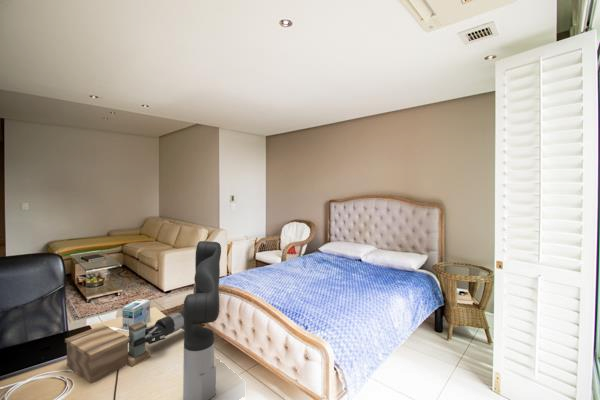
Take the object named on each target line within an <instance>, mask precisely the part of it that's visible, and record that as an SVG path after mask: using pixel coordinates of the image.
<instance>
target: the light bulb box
mask: <svg viewBox="0 0 600 400" xmlns="http://www.w3.org/2000/svg"><path fill="white" fill-rule="evenodd" d="M138 322H141V323H143V324H146V325H147V324H148V323H149V322H151V300H150V299H142V298H138V299H136V300H134V301H133V302H130V303H128V304H126V305H124V306H122V324H121V325H122V328H121V329H124V330H129V326H130V325H133V324H135V323H138Z"/></svg>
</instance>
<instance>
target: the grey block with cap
mask: <svg viewBox="0 0 600 400" xmlns="http://www.w3.org/2000/svg"><path fill="white" fill-rule="evenodd" d="M128 336H129V338H130V341H129V343H128V352H129V356H131V357H133V358H136V357H138V356H140V355H141V354H143V353H145V349H146V344H144V343H143V344H141V345H139V346H137V347H133V342H134V341H136V340H138V339H140V338H142V337H145V324H143V323H141V322H138V323H135V324H133V325H130V326H129V332H128Z"/></svg>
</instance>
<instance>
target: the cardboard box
mask: <svg viewBox="0 0 600 400" xmlns="http://www.w3.org/2000/svg"><path fill="white" fill-rule="evenodd" d="M109 327H110V326H107V325H104V324H102V325H99V326H96V327H94V328H90V329H88V330H85V331H83V332H80V333H77V334H75V335H71V336H70V337H67V338H64V343H66V367H67V368H69V369H71V370H72V371H73V372H75V373H76V374H78V375H79V376H80V377H82V378H83V379H84V380H86V381H87V382H89V383H90V384H93V383H95V382H97V381H98V380H101V379H103V378H105V377H106V376H109V375H110V374H112V373H114V372H116V371H119V370H120V369H122V368H123V367H124V368H125V367H126V366H130V367H134V366H135V365H138V364H139V363H142V362H143V361H145V360H147V359H149V358H150V357H151V355H152V351H151V350H149V349H148V348H145V353H143V354H141V355H140V356H138V357H136V358H133V357H131V356H129V343H128V341H130V338H129V337H128V336H127V335H125V334H124V333H121V332H119V331H115V330H113V329H111V328H109Z"/></svg>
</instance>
